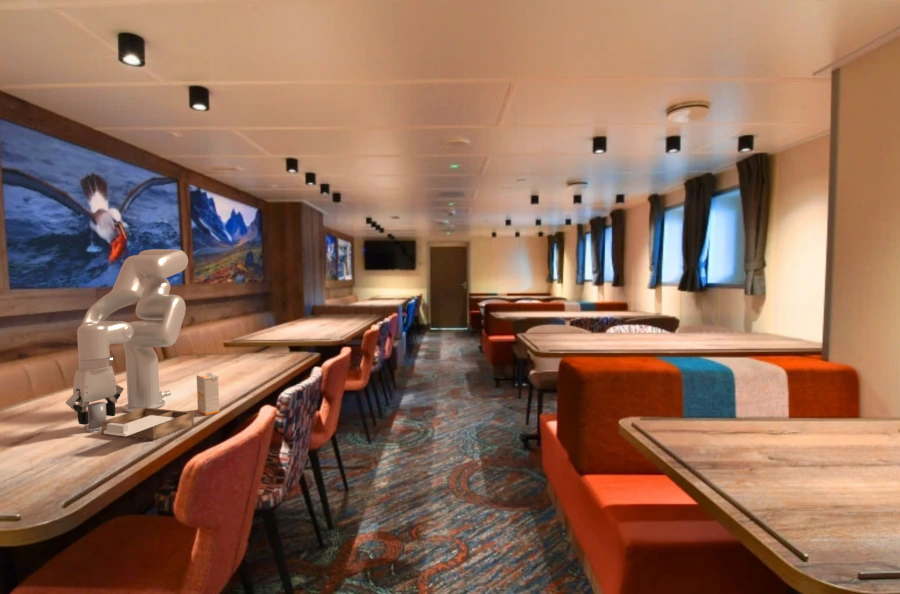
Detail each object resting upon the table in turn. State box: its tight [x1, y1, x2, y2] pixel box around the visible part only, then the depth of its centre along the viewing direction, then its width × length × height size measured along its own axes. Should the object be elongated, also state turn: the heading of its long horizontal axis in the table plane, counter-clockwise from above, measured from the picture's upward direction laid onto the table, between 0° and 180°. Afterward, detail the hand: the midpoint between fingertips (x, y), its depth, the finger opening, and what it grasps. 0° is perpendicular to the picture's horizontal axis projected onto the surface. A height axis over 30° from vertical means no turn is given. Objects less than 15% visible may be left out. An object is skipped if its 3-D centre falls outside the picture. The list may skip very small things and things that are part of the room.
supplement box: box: [196, 372, 220, 416], centre depth 152 cm, size 8×5×13 cm, turn 47°
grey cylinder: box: [83, 401, 108, 433], centre depth 136 cm, size 6×7×8 cm
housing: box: [101, 408, 195, 441], centre depth 135 cm, size 14×20×4 cm
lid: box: [103, 415, 171, 437], centre depth 126 cm, size 14×8×3 cm, turn 164°
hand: (97, 419), depth 135 cm, fingers open, 7 cm apart
